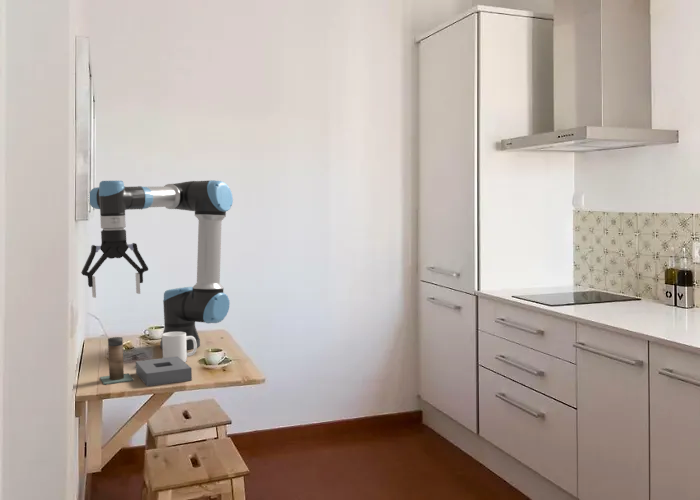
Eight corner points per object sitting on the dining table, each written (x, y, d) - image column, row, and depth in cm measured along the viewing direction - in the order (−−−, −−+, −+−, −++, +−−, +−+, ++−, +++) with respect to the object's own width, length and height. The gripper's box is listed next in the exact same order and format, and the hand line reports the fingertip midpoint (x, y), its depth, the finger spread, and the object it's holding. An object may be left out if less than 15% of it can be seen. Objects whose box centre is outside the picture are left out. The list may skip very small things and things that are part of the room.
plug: (108, 377, 221) (107, 338, 220) (122, 375, 223) (121, 336, 222) (110, 380, 217) (109, 340, 216) (125, 378, 219) (123, 339, 218)
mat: (100, 378, 222) (99, 376, 222) (128, 374, 227) (128, 373, 226) (104, 384, 214) (104, 383, 214) (133, 380, 219) (133, 379, 219)
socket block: (136, 373, 228) (135, 361, 228) (178, 367, 235) (177, 356, 234) (147, 386, 212) (146, 373, 212) (191, 380, 219) (191, 367, 218)
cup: (161, 360, 245) (160, 332, 245) (195, 357, 250) (194, 329, 249) (164, 365, 238) (163, 337, 237) (199, 362, 242) (198, 334, 242)
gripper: (72, 231, 209) (76, 300, 211) (155, 228, 220) (158, 293, 222) (70, 230, 215) (73, 296, 217) (150, 227, 227) (153, 290, 229)
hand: (116, 295), depth 220 cm, fingers open, 13 cm apart
